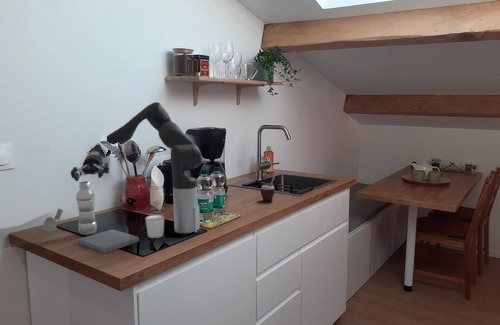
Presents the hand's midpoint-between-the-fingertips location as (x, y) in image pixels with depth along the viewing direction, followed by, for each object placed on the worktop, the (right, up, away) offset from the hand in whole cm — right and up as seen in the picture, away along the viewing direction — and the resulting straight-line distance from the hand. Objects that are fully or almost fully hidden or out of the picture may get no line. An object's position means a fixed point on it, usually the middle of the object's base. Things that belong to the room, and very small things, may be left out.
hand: (87, 177), depth 158 cm
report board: (+13, -23, -14) cm, 29 cm away
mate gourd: (+73, -14, +46) cm, 87 cm away
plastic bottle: (+2, -22, -4) cm, 22 cm away
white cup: (+28, -22, -6) cm, 36 cm away
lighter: (-14, -21, +1) cm, 25 cm away
